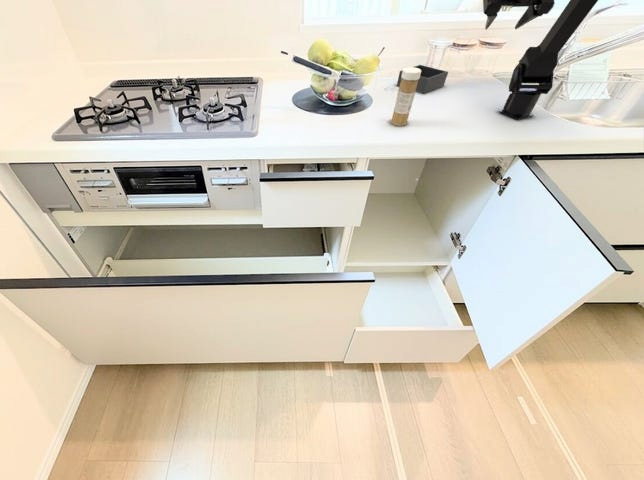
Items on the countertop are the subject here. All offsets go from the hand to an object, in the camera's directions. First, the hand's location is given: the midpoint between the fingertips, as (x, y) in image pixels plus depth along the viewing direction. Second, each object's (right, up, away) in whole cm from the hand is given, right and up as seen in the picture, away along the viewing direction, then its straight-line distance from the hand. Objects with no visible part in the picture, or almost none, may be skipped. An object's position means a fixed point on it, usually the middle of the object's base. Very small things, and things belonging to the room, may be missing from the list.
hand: (500, 28), depth 105 cm
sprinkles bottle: (-38, -37, -12) cm, 54 cm away
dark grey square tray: (-23, -14, +8) cm, 28 cm away
